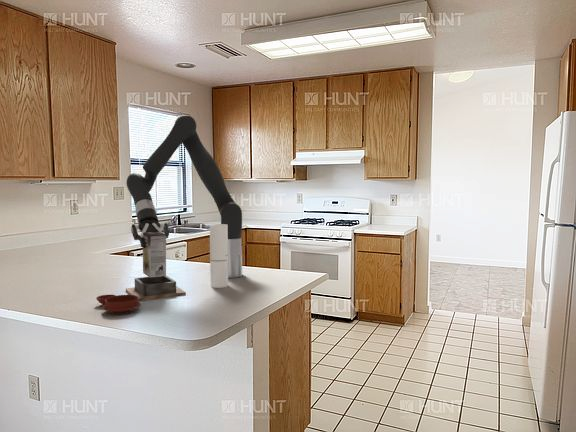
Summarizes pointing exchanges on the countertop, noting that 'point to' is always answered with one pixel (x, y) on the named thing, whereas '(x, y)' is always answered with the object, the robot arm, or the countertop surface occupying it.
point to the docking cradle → (155, 288)
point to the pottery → (118, 303)
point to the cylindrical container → (219, 255)
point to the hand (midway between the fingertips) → (154, 246)
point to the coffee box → (154, 254)
